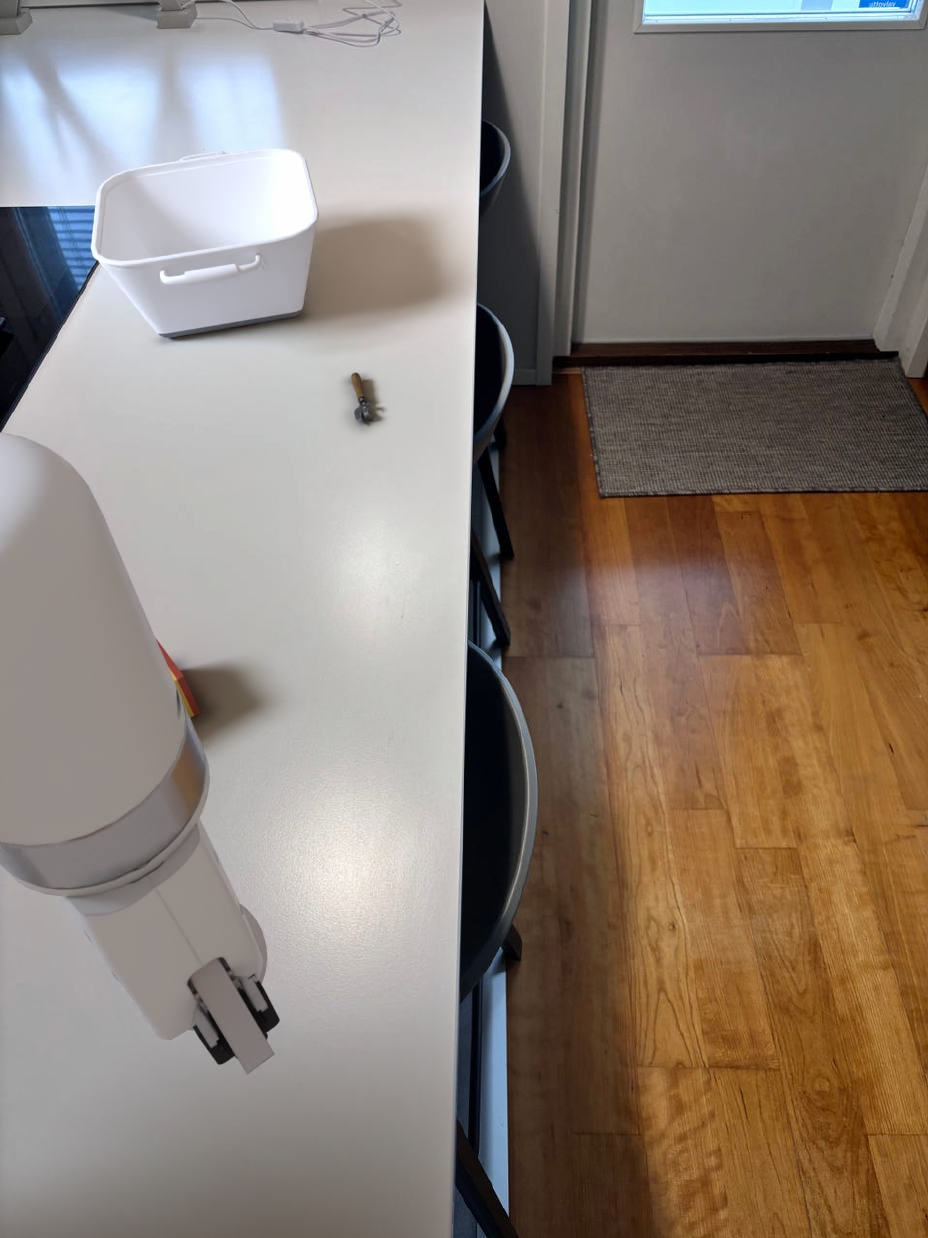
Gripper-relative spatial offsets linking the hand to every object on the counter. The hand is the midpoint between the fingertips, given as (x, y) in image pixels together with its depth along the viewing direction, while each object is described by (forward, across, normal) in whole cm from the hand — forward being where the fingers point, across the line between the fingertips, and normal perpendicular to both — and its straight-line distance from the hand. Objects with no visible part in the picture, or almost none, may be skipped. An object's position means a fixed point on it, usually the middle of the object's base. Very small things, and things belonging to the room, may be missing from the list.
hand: (212, 978), depth 45 cm
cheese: (+19, -34, +5) cm, 39 cm away
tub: (+19, -91, +44) cm, 102 cm away
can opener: (+19, -59, +44) cm, 76 cm away
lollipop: (+10, 0, 0) cm, 10 cm away
